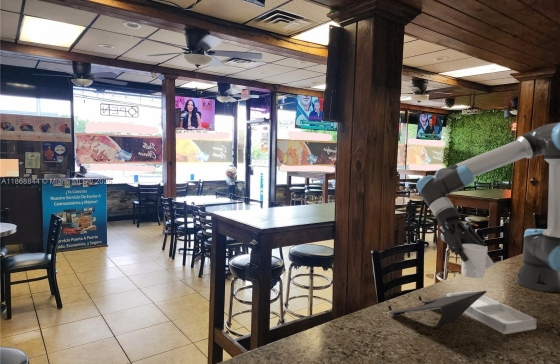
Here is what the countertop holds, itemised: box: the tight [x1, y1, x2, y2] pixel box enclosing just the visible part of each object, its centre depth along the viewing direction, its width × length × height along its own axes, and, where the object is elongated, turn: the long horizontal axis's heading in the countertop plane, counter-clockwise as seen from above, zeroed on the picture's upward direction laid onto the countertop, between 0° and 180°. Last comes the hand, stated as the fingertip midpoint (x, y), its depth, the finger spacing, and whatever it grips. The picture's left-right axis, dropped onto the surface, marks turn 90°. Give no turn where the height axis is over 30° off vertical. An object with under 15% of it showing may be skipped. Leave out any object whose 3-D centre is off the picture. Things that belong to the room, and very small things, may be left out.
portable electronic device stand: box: [387, 290, 487, 330], centre depth 115 cm, size 23×23×9 cm
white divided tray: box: [443, 289, 538, 335], centre depth 120 cm, size 13×24×3 cm, turn 17°
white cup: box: [460, 243, 488, 279], centre depth 124 cm, size 8×8×10 cm
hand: (482, 267), depth 121 cm, fingers closed on white cup, 8 cm apart
